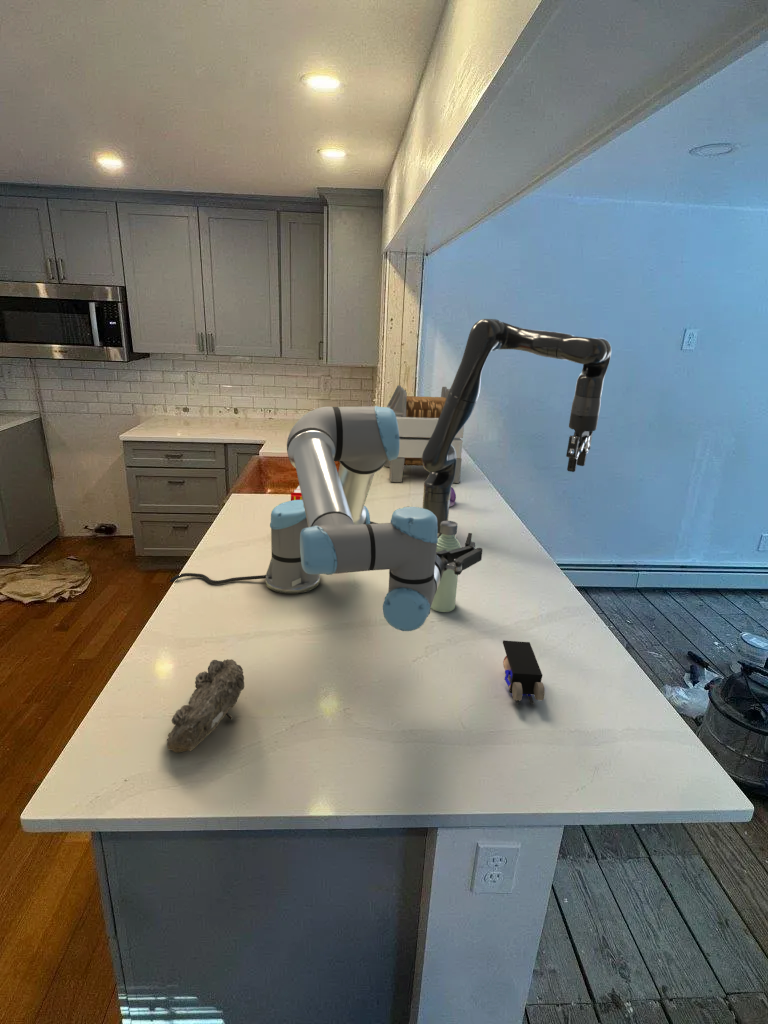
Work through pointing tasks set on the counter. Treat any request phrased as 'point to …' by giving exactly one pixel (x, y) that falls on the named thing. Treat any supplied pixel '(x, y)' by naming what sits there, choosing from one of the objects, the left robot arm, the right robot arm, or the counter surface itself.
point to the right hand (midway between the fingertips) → (575, 468)
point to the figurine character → (522, 671)
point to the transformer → (418, 430)
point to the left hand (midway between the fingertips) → (438, 534)
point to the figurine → (452, 497)
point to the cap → (448, 527)
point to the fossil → (206, 705)
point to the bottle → (446, 578)
